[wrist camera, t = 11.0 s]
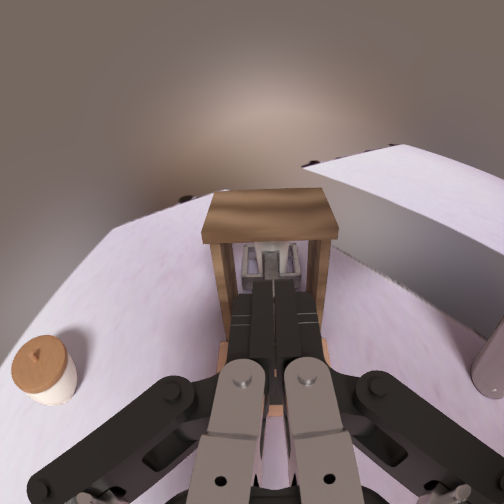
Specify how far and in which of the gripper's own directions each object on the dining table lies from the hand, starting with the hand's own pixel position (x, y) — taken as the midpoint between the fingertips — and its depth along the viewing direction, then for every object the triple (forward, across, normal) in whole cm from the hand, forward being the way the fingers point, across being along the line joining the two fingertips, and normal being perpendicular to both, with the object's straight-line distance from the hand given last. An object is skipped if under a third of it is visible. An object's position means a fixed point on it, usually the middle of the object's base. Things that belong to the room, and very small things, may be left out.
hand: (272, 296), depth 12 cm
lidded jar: (+9, +34, +30) cm, 46 cm away
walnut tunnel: (+27, 0, +30) cm, 40 cm away
